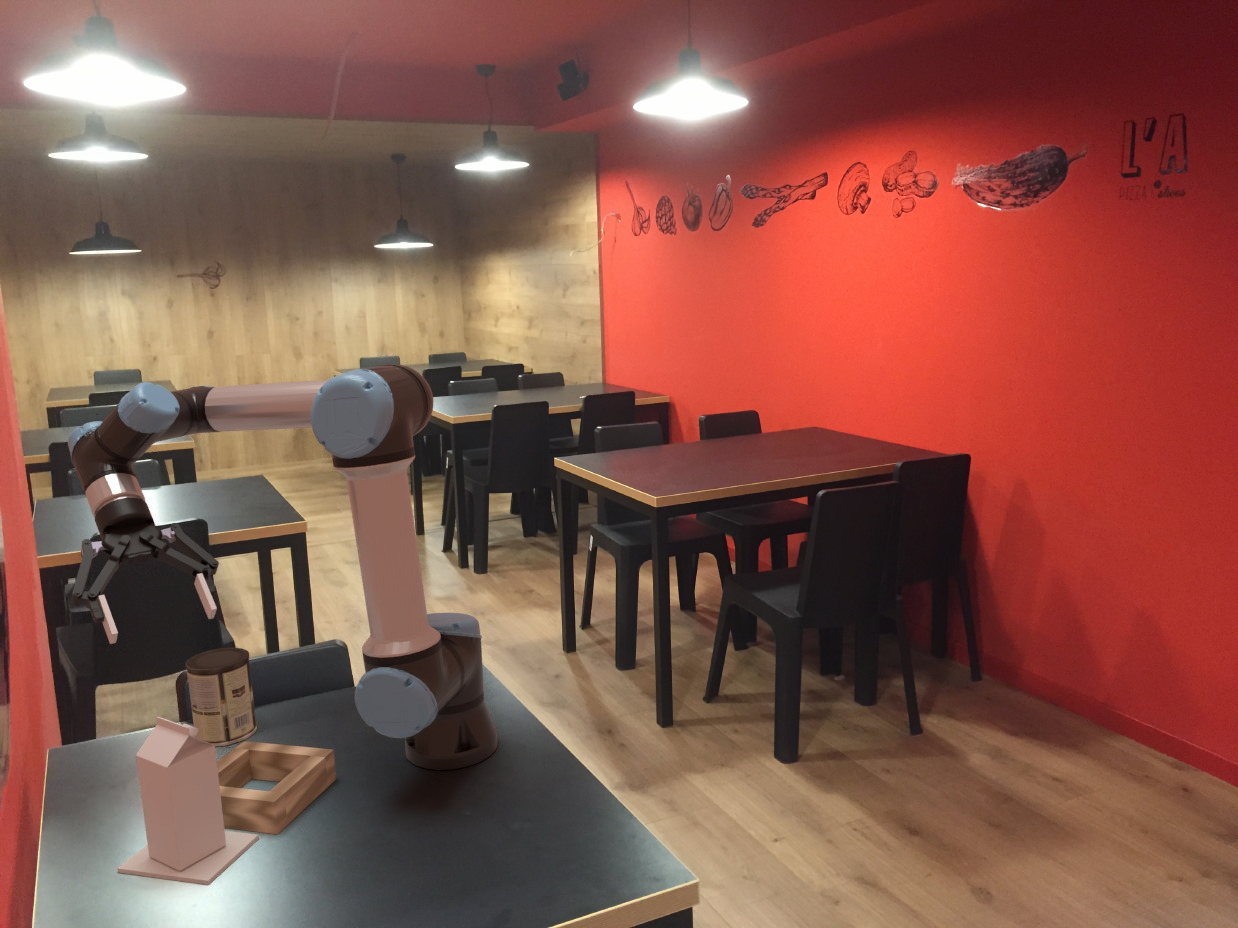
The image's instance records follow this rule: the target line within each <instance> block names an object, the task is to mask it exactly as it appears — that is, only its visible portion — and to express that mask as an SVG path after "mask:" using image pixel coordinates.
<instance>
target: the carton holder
mask: <svg viewBox="0 0 1238 928" xmlns="http://www.w3.org/2000/svg"><path fill="white" fill-rule="evenodd" d="M334 750H335V749H332V748H318V747H309V746H302V745H301V746H299V745H290V744H289V745H288V744H287V745H286V744H279V743H277V744H276V743H267V742H258V741H246V740H243V742H241V743H240V744H239V745H237V746H236V747H234V748H233V749H231V751H229V752H228V753H227V754H225V755H224V756H222V757H221V758H220V759H218V760H217V768H218V777H219V786H220V795H221V804H222V812H223V821H224V829H229V830H230V829H231V830H239V831H246V832H254V833H265V834H271V835H279V834H280V833H281V832H282V831H283V830H284V829H285V828H286V827H287V826H288V825H289V824H290V823H291V822H292V821H294V820H295V818H296V817H298V816H299V815H300V813H302V812H303V811H304V810H305V809H306V808H308V806H309V805H311V804H312V803H313V801H315V800H316V799H317V798H318V797H319V796H320V795H321V794H322V793H323V792H324V791H325V790H326V789H327V788H329V786H330V785H332V784H333V783H334V782H335V781H336V780H337V774H336V773H337V771H336V762H335V761H336V760H335V751H334ZM251 780H258V781H259V780H260V781H267V782H277V784H276V785H274V786H273V787H272V788H271V789H270V790H259V789H251V788H250V789H249V788H242V787H244V786H245V785H246V784H248V783H249V782H250V781H251Z"/></svg>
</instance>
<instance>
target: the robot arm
mask: <svg viewBox="0 0 1238 928" xmlns="http://www.w3.org/2000/svg"><path fill="white" fill-rule="evenodd" d="M433 410H434V396H433V392H432V389H431V386H430V384H429V383H428V381H427V380H426V379H425V377H424V376H423V375H422V374H421V373H420V372H419V371H417V370H416V369H413V367H409V366H407V365H403V364H391V363H390V364H384V365H379V366H373V367H367V368H366V367H365V368H361V369H359V368H356V369H352V370H347V371H345V372H343V373H341V374H338V375H336V376H333V377H331V378H329V379H319V380H316V379H315V380H303V381H302V380H301V381H300V380H299V381H287V382H286V381H285V382H284V381H283V382H272V383H271V382H270V383H267V382H266V383H253V384H239V385H238V384H236V385H223V386H221V385H220V386H211V385H198V386H191V387H189V388H184V389H183V388H182V389H176V390H172V391H170V390H168V388H166V387H165V386H163V385H160V384H158V383H157V384H154V383H152V382H150V381H149V382H148V381H146V382H145V381H144V382H140V383H138V384H136V385H135V386H134V387H133V388H132V389H131V390H130V391H129V392H127V393H125V395H124V396H122V397H121V399H120V401H119V402H118V403H117V404H116V406H115V407H114V408H113V409H112V410H111V412H109V414H108V415H107V416H106V418H104V420H102V421H101V420H97V421H96V420H95V421H90V422H86V423H84V424H83V425H82V426H81V427H75V429H74V430H72V432H70V435H69V436H68V440H67V446H68V449H69V453H70V461H71V463H72V465H73V467H74V469H75V470H76V472H75V473H76V474H77V476H78V479H79V482H80V484H81V488H82V489H83V491H84V495H85V497H86V499H87V502H88V505H89V509H90V510H91V514H92V516H93V518H94V522H95V525H96V528H97V531H98V533H99V536H100V539H101V540H100V541H91V540H90V539H88V538H85V539H83V540H82V541H81V548H80V556H81V560H80V561H81V562H80V564H79V568H78V571H77V574H76V575H77V576H76V579H75V582H74V586H73V590H72V592H71V601H70V603H71V605H72V606H79V605H80V604H81V605H85V607H86V608H87V609H89V611H90V614H91V617H92V621H93V622H94V624H100V623H102V625H103V628H104V631H105V634H106V636H107V639H108V640H107V641H109V645H112V644H116V643H117V639H118V634H119V631H118V629H117V626H116V623H115V621H114V618H113V616H112V612H111V610H110V607H109V604H108V601H107V599H106V596H105V594H103V592H104V591H105V589H106V587H107V585H108V584H109V582H110V581H111V580H112V578H113V577H114V574H115V573H116V572H117V570H118V569H119V568H120V565H122V564H124V565H127V566H131V565H135V564H137V563H141V562H142V563H145V562H150V560H155V561H156V562H159V563H164V564H166V565H169V566H170V567H172V568H174V569H177V570H178V571H180V572H181V573H184V574H186V575H188V576H190V577H191V578H194V579H195V580H194V583H193V584H194V586H195V590H196V592H197V594H198V597H199V599H200V602H201V604H202V606H203V609H204V612H205V613H206V616H207V619H208V620H212V619H214V618H215V615H216V613H217V610H218V609H217V605H216V603H215V601H214V598H213V597H214V594H215V592H216V586H215V584H214V582H213V579H212V577H211V576H214V575H216V574H217V571H218V567H219V564H220V562H219V561H218V560H217V559H216V558H215V557H214V556H213V555H211V554H210V553H208V551H206V550H205V549H204V548H202V546H200V545H199V544H198V543H196V541H194V540H193V539H191V537H189V536H188V535H187V534H185V533H184V531H183V529H182V528H181V526H180V524H179V523H178V522H173V523H171V524H170V527H168V528H164V529H160V528H158V527H157V525H156V524H155V521H154V517H153V515H152V512H151V510H150V508H149V506H148V503H147V502H146V497H145V495H144V493H143V491H142V488H141V486H140V484H139V480H138V477H137V475H136V474H135V470H134V468H133V467H134V464H136V462H137V461H138V460H139V459H141V457H143V455H144V454H145V453H146V452H147V451H148V450H149V449H150V447H152V446H153V445H154V444H155V443H159V442H164V441H167V440H172V439H175V438H181V437H183V436H184V437H185V436H189V435H194V434H195V435H196V434H204V433H205V434H207V433H209V434H211V433H221V432H223V433H224V432H240V431H262V430H263V431H264V430H265V431H267V430H284V429H285V430H287V429H288V430H290V429H309V428H310V429H311V430H312V432H313V435H314V438H315V439H316V440H317V442H318V443H319V444H320V445H322V446H323V447H324V449H325V451H327V452H328V453H329V454H331V459H332V466H333V470H335V471H336V472H338V473H339V474H341V475H342V476H343V477H344V478H345V479H346V485H347V492H348V497H349V504H350V511H351V518H352V524H353V530H354V536H355V543H356V549H357V556H358V561H359V568H360V576H361V581H362V586H363V587H362V588H363V589H362V590H363V594H364V595H363V596H364V600H365V601H364V602H365V607H366V613H367V621H368V627H369V633H370V635H369V637H368V638H367V639H366V640H365V642H364V643H363V645H362V646H361V651H362V652H361V653H362V659H363V665H364V671H365V673H364V674H362V676H361V677H360V679H359V680H358V683H357V684H356V687H355V691H354V702H355V706H356V710H357V712H358V714H359V716H360V717H361V719H362V720H363V721H364V723H365V724H366V725H367V726H368V727H371V728H373V729H374V730H375V732H377V733H378V734H380V735H383V736H385V737H387V738H393V739H394V738H395V739H405V743H404V747H405V755H406V759H407V760H408V761H409V762H410V763H411V764H413V765H415V766H416V767H420V768H423V769H427V770H436V771H441V770H442V771H444V770H445V771H446V770H455V769H457V770H458V769H463V768H466V767H469V766H473V765H476V764H479V763H481V762H482V761H485V760H486V759H489V757H491V755H493V754H494V753H495V751H497V747H498V733H497V728H496V725H495V724H494V721H493V719H492V716H491V714H490V711H489V709H488V707H487V704H486V701H485V692H484V689H485V688H484V672H483V669H484V668H483V653H482V652H483V651H482V639H483V637H482V634H481V628H480V623H479V621H478V619H477V618H476V617H475V616H472V615H470V614H467V613H462V612H461V613H460V612H434V613H428V612H427V604H426V598H425V597H426V596H425V590H424V583H423V577H422V569H421V562H420V561H421V560H420V555H419V548H418V541H417V534H416V527H415V520H414V513H413V508H412V507H413V506H412V505H413V504H412V499H411V492H410V483H409V477H408V468H409V466H411V463H412V462H413V461H414V460H415V458H416V452H415V446H414V436H416V435H417V434H419V433H420V432H421V431H422V430H423V429H424V428H425V427H426V426H427V425H428V423H429V421H430V419H431V416H432V414H433V412H434V411H433ZM162 539H165V540H167V541H168V543H169V544H170V543H171V544H173V545H174V546H175V547H176V548H177V549H178V550H179V551H177V550H175V549H174V548H172V547H170V546H169V545H168V543H166V542H164V541H162ZM100 551H102V552H103V553H104V554H107V555H108V556H109V557H108V560H107V561H106V563H105V565H104V566H103V568H102V569H101V571H100V573H99V574H98V576H97V577H96V579H95V580H94V582H93V583H92V585H91V586H90V588H89V590H87V591H85V588H86V585H87V581H88V578H89V574H90V570H91V566H92V561H93V559H94V558H95V557H97V556H98V554H99V552H100ZM180 551H181V552H182V553H181V552H180Z"/></svg>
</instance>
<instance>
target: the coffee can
mask: <svg viewBox="0 0 1238 928" xmlns="http://www.w3.org/2000/svg"><path fill="white" fill-rule="evenodd" d="M184 665H185V669H186V674H187V682H188V690H189V698H190V707H191V714H192V722H193V727H195V728H197V729H199V730H198V732H197V734H196V736H195V737H196V738H198V739H201V740H203V741H206V742H208V743H210V744H213V745H215V748H217V747H224V746H230V745H234V744H237V743H239V742H242V741H243V742H244V741H246V740H247V739H248V738H250V737H252V736H253V735H254V734H255V733H256V731H257V729H258V726H257V720H256V712H255V702H254V693H253V686H252V685H253V684H252V676H251V666H250V652H249V651H248V650H247V649H245V648H242V647H241V648H240V647H221V648H220V647H219V648H214V649H209V650H206V651H203V652H199V653H197V654H194V655H192V657H189V658H188V659H187V660H186V661H185V664H184Z"/></svg>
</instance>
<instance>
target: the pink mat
mask: <svg viewBox="0 0 1238 928" xmlns="http://www.w3.org/2000/svg"><path fill="white" fill-rule="evenodd" d="M225 839H226V845H225V846H223V847H222V848H220V849H218V850H216V851H215V852H213V853H211V854H209V855H208V856H206V857H204V858H202V859H201V860H199V861H197V862H195V863H193V864H192V865H190V866H188V867H186V868H185V869H183V870H181V871H178V870H176V869H174V868H172V867H170V866H168V865H166V864H164V863H162V862H160V861H158V860H156V859H153V858H151V857H150V856H149V852H148V844H146V845H145V846H144V847H143V848H142V849H140V850H139V851H137V853H135V854H134V855H132V856H131V857H129V859H127V860H126V861H125V862H123V864H121V865H120V866H118V867H117V868H116V869H117V873H119V874H126V875H134V876H141V877H149V878H156V879H163V880H169V881H170V880H171V881H178V882H185V883H191V884H199V885H205V886H208V885H210V884H212V882H214V880H216V878H218V877H219V876H220V875H221V874H222V873H223V872H224V871H225V870H226V869H227V868H229V867H230V866H231V865H232V864H233V863H234V862H236V860H237V859H239V857H241V856H242V855H243V854H244V853H245V852H246V851H247V850H248V849H250V848H251V846H253V845H254V844H255V843H256V842H257V841H258V840H259V839H260V836H259V834H258V833H257V834H256V833H255V834H254V833H247V832H239V831H231V830H225Z"/></svg>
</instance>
